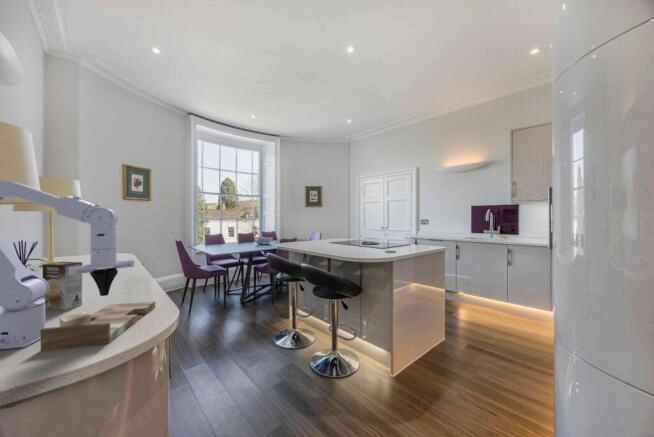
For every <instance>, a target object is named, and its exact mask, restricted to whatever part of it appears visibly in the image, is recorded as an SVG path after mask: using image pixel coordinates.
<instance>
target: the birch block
mask: <svg viewBox="0 0 654 437" xmlns="http://www.w3.org/2000/svg"><path fill="white" fill-rule="evenodd" d="M91 315H92V314H89V313H88V312H87V311H83V312H78V313H75V314H71V315H69V314H68V315H66V316H61V317H59V327H64V326H76V325H88V324H91Z"/></svg>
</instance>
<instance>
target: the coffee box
mask: <svg viewBox="0 0 654 437" xmlns="http://www.w3.org/2000/svg"><path fill="white" fill-rule="evenodd" d="M77 266H83V262H82V261H57V262H50V263H45V264H42V278H43V279H45V280H46V281H47V282H48V283H49V291H48V293H47V294H46V295H45V296H44V299H45V311H46V310H49V311H67V310H70V309H73V308H76V307H79V306H82V304H83V273H82V274H76V275H69V268H70V267H77Z"/></svg>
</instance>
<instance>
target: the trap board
mask: <svg viewBox="0 0 654 437" xmlns="http://www.w3.org/2000/svg"><path fill="white" fill-rule="evenodd" d="M155 308H156V301H155V300H154V301H143V302H130V303H114V304H113V303H111V304H109V305H107V306H105V307H103V308H101V309H99V310H98V311H96V312H94V313H92V314H90V315H91V324H88V325H76V326H64V327H60V326H56V327H55V326H53V327H52V326H51V327H46V328H43V329H41V330H40V331H41V339H40V351H49V350H59V349H69V348H70V349H71V348H78V347H80V348H81V347H88V346H89V347H90V346H98V345H99V346H102V345H108V344H110V343H111V342H113V341H114V340H115V339H116V338H117V337H119V336H120V335H122V333H124V332H125V331H126V330H128V329H129V328H130V327H131V326H133V325H134V324H135V323H137V322H138V321H139V320H140V319H142V318H143V317H145V316H146V315H147V314H149V313H150V312H151V311H152V310H153V309H155ZM149 311H150V312H149Z"/></svg>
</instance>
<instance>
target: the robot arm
mask: <svg viewBox="0 0 654 437" xmlns="http://www.w3.org/2000/svg"><path fill="white" fill-rule="evenodd" d="M5 198H9V199H13V198H18V199H22V200H26V201H28V202H33V203H37V204H39V205H43V206H46V207H49V208H53V209H54V212H56V214H57V215H59V216H62V217H65V218H68V219H72V220H75V221H79V222H82V223H84V224H86V223H88V224H89V226H90V264H84V265H82V266H77V267H70V268H69V275H76V274H82V275H83V274H87V273H88V274H89V275H90V276H91V278H92V279H93V281H94V282H95V285H96V287H97V289H98V292H99V296H101V297H106V296H109V293H110V289H111V287H112V283H113V282H114V279H115V278H116V276H117V274H118V272H119V271H118V269H124V268H125V269H126V268H134V267H135V260H131V259H130V260H120V261H119V260H118V261H117V232H116V230H117V225H116V224H117V223H118V221H119V216H118V213H117V212H116V211H114V210H112V209H111V208H109V207H101V204H100V203H92V202H88V201H86V200H83V199H82V197H80V196H78V195H74V196H71V195H67V196H62V197H59V196H57V195H54V194H50V193H48V192H45V191H42V190H40V189H37V188H35V187H32V186H30V185H26V184H23V183H22V182H18V181H17V182H15V181H12V180H11V181H10V180H5V179H1V178H0V202H1V201H2V200H4V199H5ZM48 291H49V283H48V282H47V281H46V280H45V279H43V277H40V276H38V275H37V274H36V272H35V271H33V270H32V269H30V268H27V267H25V264H23V263H22V261H21V260H20V259H19V257H18V256H17V255H16V253H15V252H14V250H12V248H11V247H10V245H9V244H8V243H7V241H6V240H5V238H4V237H3V236H2V235H1V234H0V307H1V308H2V312H1V313H0V350H8V349H18V348H19V349H20V348H26V347H28V346H30V345H32V344H33V343H35V342H37V341H39V340H41V331H40V330H41V329H43V328H47V327H46V310H45V299H44V296H45V295H46V294H47V293H48Z"/></svg>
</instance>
